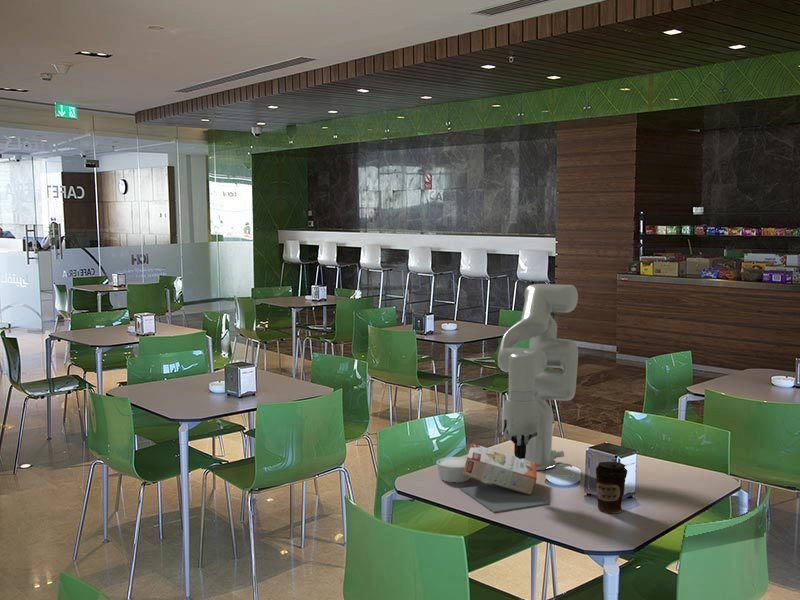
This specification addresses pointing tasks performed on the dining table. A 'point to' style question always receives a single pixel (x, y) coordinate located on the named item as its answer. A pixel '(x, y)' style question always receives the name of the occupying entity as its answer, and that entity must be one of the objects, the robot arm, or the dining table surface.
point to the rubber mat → (502, 498)
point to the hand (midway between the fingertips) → (520, 457)
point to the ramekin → (452, 469)
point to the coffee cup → (610, 486)
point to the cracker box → (501, 469)
